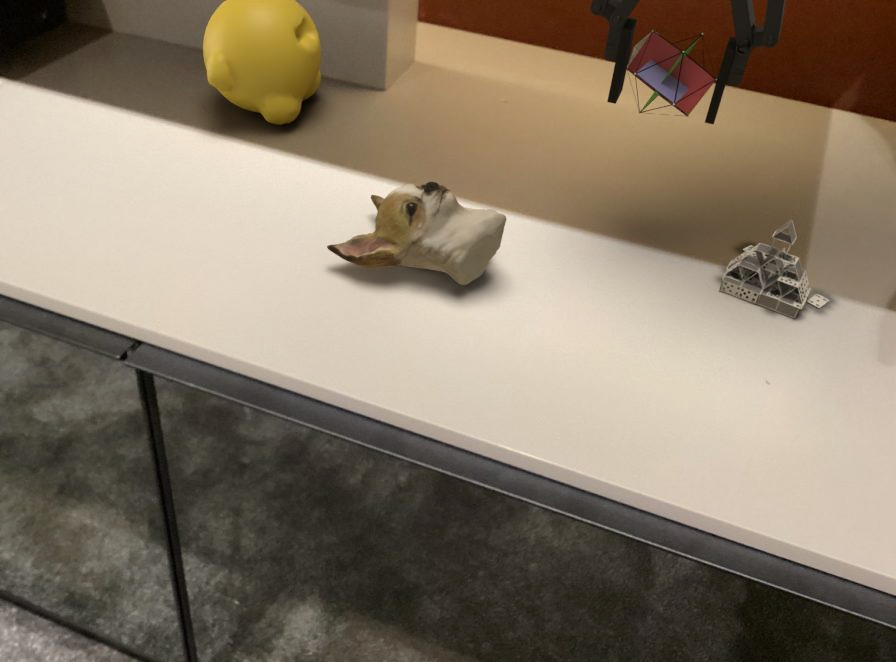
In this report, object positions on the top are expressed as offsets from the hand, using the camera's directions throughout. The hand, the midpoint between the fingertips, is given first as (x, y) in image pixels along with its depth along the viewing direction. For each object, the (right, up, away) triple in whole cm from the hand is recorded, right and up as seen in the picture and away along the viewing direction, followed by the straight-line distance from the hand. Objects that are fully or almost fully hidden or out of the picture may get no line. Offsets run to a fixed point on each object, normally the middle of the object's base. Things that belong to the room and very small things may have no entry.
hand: (662, 105), depth 84 cm
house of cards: (+12, -15, +4) cm, 20 cm away
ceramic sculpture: (-21, -13, +5) cm, 25 cm away
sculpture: (-38, +7, +25) cm, 45 cm away
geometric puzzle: (0, 0, 0) cm, 0 cm away
